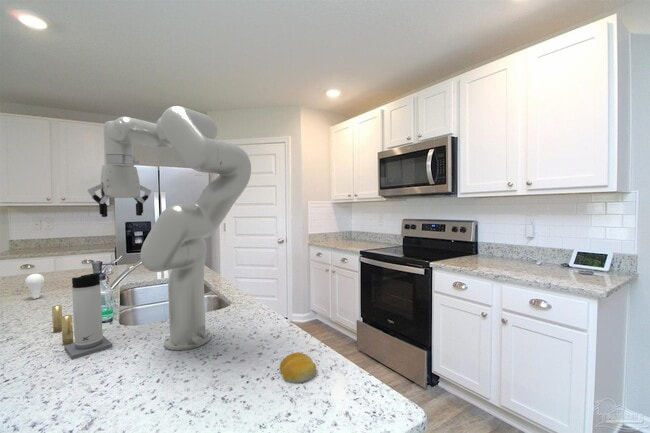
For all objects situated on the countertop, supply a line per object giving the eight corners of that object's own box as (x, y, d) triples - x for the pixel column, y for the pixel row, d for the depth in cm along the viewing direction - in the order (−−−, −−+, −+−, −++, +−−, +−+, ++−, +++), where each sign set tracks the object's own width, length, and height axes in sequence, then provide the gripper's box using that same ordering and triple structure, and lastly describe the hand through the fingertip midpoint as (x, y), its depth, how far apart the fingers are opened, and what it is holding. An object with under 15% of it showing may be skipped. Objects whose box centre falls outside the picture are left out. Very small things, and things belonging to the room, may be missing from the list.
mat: (112, 347, 88) (112, 343, 88) (72, 359, 82) (71, 355, 82) (102, 338, 94) (102, 335, 94) (64, 349, 88) (64, 345, 88)
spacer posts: (99, 336, 96) (97, 310, 96) (63, 346, 90) (62, 318, 89) (84, 323, 107) (83, 300, 106) (52, 331, 100) (51, 306, 100)
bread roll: (286, 388, 68) (285, 370, 68) (277, 368, 76) (276, 351, 76) (322, 379, 71) (321, 362, 71) (309, 361, 79) (309, 345, 79)
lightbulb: (36, 301, 133) (34, 275, 132) (22, 301, 133) (20, 275, 132) (49, 296, 139) (47, 272, 138) (35, 297, 139) (34, 272, 138)
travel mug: (89, 350, 84) (86, 276, 84) (68, 348, 86) (65, 275, 85) (109, 340, 91) (106, 271, 90) (90, 338, 92) (86, 270, 91)
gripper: (145, 165, 109) (147, 214, 109) (83, 160, 95) (86, 217, 96) (153, 163, 104) (156, 215, 104) (89, 158, 91) (92, 217, 91)
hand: (122, 216), depth 100 cm, fingers open, 9 cm apart
